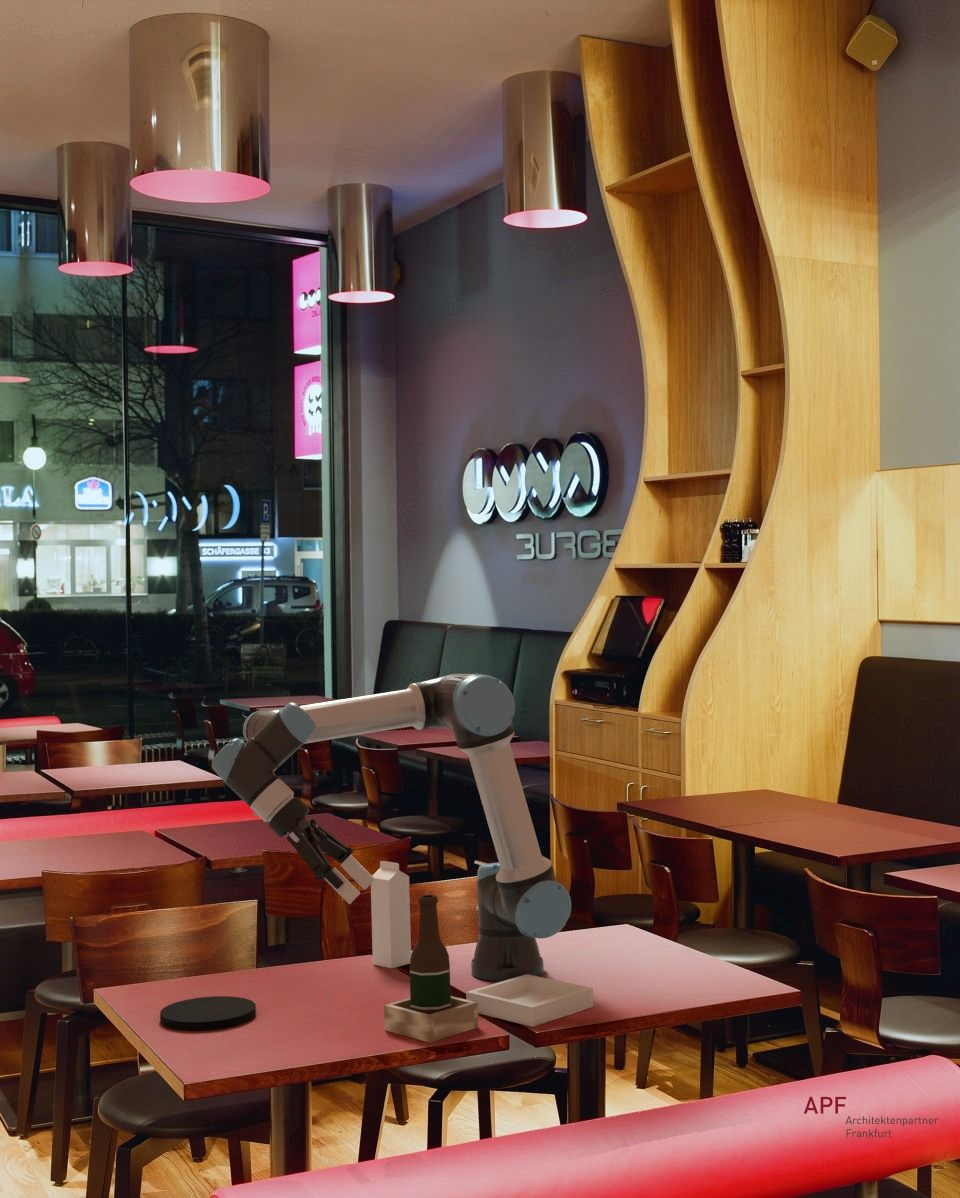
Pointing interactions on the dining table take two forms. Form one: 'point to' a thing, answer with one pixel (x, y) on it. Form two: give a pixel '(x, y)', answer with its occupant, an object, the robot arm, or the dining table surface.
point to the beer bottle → (429, 963)
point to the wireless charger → (207, 1013)
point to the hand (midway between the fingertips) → (362, 891)
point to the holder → (431, 1020)
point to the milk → (390, 916)
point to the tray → (531, 999)
